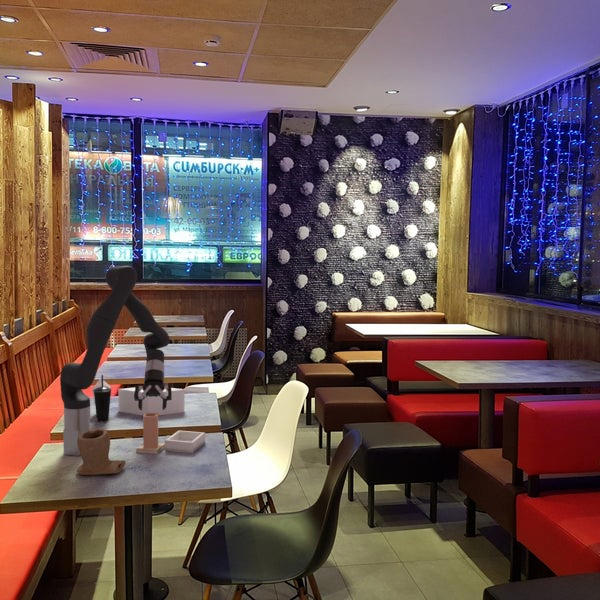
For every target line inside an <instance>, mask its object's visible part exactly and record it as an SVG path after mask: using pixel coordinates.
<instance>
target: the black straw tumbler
mask: <svg viewBox="0 0 600 600" xmlns="http://www.w3.org/2000/svg"><path fill="white" fill-rule="evenodd" d="M98 387H102V379H101V378H99V380H98V381H97V382H96V384H95V385H93V387H92V389H91V392H92V393H93V394H92V396H93V402H94V404H95V398H94V392H93V390H94V389H96V388H98ZM103 387H108V388H111V389H112V387H111V386H110V385H109V383H108V382H106V381H105V379H103Z"/></svg>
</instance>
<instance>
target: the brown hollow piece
mask: <svg viewBox="0 0 600 600" xmlns="http://www.w3.org/2000/svg"><path fill="white" fill-rule="evenodd" d="M77 444H78V449H79V452H80V456H81V458H82V464H80V465H79V466H78V467H77V469H76V472H77V474H78V475H83V476H84V475H86V476H90V475H91V476H93V475H96V476H97V475H109V474H111V475H112V474H118V473H120V472H121V471H122V470H123V469H124V467H125V465H126V464H127V463H126V462H127V461H126V460H124V459H123V460H122V459H121V460H120V459H119V460H118V459H117V460H115V459H114V460H111V459H110V458H109V456H110V455H109V453H110V447H111V437H110V434H109V432H108V431H107V429H104V428H95V429H91V430H88V431H85V432H83V433H81V434H80V435H79V436H78V439H77Z"/></svg>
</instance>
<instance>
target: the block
mask: <svg viewBox="0 0 600 600" xmlns="http://www.w3.org/2000/svg"><path fill="white" fill-rule="evenodd" d="M117 391H118V395H117V396H118V412H120V413H126V414H131V415H138V416H144V413H158V416H160V415H162V416H163V415H172V414H178V413H185V389H181V388H175V387H171V393H172V400H168V401H167V406H166V408H165V410H163V408H162V406H163V399H161V398H160V397H159V396H157V397H154V396H152V397H149V396H148V397H147V398H146V399H144V400H143V401H142V402H143V404H142V410H140V409H139V408H138V401H135V400H134V393H135V387H127V388H118V390H117ZM143 392H144V391H143V389H142V390H141V391H140V392H139V394H138V396H139V397H140V395H141V394H142V393H143ZM163 393H164V394H165V395H166V396H168V391H166V389H164V390H163Z"/></svg>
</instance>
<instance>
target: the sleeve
mask: <svg viewBox="0 0 600 600" xmlns="http://www.w3.org/2000/svg"><path fill="white" fill-rule="evenodd" d="M142 416H143V417H142V418H143V419H142V422H143V423H142V424H143V427H142V428H143V433H142V434H143V437H142V439H143V440H142V441H143V443H142V444H143V448H157V447H158V443H159V415H158V413H144V415H142Z"/></svg>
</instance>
